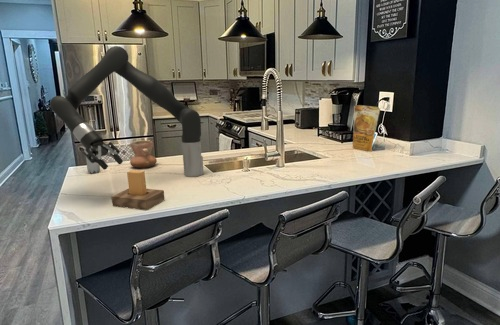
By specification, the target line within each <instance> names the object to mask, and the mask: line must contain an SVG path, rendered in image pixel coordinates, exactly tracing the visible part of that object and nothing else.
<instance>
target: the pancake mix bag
mask: <svg viewBox="0 0 500 325" xmlns="http://www.w3.org/2000/svg"><path fill="white" fill-rule="evenodd" d="M380 112H381V108H380V107H379V106H372V105H362V104H356V105H354V106H353V126H352V127H353V130H352V132H353V137H352V148H353V149H355V150H358V151H363V152H373V148H372V146H373V143H374V140H375V135H376V130H377V126H378V122H379V117H380V114H381V113H380Z"/></svg>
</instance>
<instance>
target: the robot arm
mask: <svg viewBox="0 0 500 325" xmlns="http://www.w3.org/2000/svg"><path fill="white" fill-rule="evenodd" d="M112 73H115V74H117V75H118V76H120V77H121V78H123V79H125V80H126V81H127V82H129V84H131V85H132V86H133V87H134V88H135V89H137V90H138V91H139V92H140V93H141V94H143V95H144V96H145V97H146V98H148V100H150V101H151V102H153V103H154V104H155V105H157V106H159V107H160V108H162V109H163V110H166V111H167V112H168V113H169V114H171V116H173V117H174V118H175V119H176V120H177V121H178V122H179V123H180V125H181V128H182V131H181V132H182V134H181V149H182V162H183V175H184V176H185V177H191V178H194V177H195V178H196V177H199V176H203V175H204V173H205V172H204V159H203V158H204V156H203V155H202V147H201V145H202V144H201V137H202V124H201V122H202V120H201V116H200V113H199V112H198V111H196V110H194V109H193V108H192V109H191V108H189V107H188V106H186V105H185V104H183V103H182V102H181V101H179V100H178V99H177V97H175V96H174V94H173V93H172V92H171V91H170V90H169V88H167V87H166V86H165V85H164V84H163V83H162V82H161V81H159V80H158V79H157V78H155V77H154V76H153V75H150V74H148V73H146V72H144V71H142V70H140V69H138V68H137V67H135V66H134V65H133V64H132V63H130V61H129V54H128V52H127V49H125V48H124V47H122V46H118V45H115V46H112V47H111V46H110V47H109V48H108V49H107V51H106V52H105V53H104V55H103V57H102V58H101V60H100V61H98V63H97V64H96V65H95V66H94V67H92V68H91V69H90V70H88V71H87V72H86V73H85V74H83V76H82V77H80V78H79V79H78V80H77V81H75V83H73V84H72V85H71V86H70V87H69V88H68V89H67V95H66V97H65V96H62V95H56V96H53V97H51V99H50V102H49V106H50V109H51V110H52V112H53V113H54V114H55V116H56V117H58V118H60V119H61V121H63V123H64V124H65V126H66V127H67V129H68V130H70V132H71V133H72V134H73V135H74V137H75V139H77V141H78V142H79V143H80V144H81V145H82V146H83V148H84V147H85V148H86V149H85V151H83V154H84V155H85V158H86V157H87V158H88V159H89V160H90V162H91V163H94V162H96V163H98V164H99V165H100V168H101V169H103V170H107V169H108V168H109V165H108V164H107V162H105V160H103V158H102V157H104V156H107V157H111V158H113V159H114V161H115V162H116V163H117V164H118V165H121V164H122V163H123V162H124V160H123V158H122V157H120V155H119V154H120V152H121V151H120V150H119V149H118V148H117V146H116V145H114V143H113V142H111V141H109V142H108V143H105V142H104V139H103V137H102V136H101V135H100V134H99V133H98V131H97V130H96V129H95V128H94V127H93V126H92V125H91V124H89V123H88V121H86V119H85V118H84V117H83V116H82V115H81V114H80V113H79V112H78V109H79V107H80V106H81V104H82V103H83V101H84V100H86V99H87V98H88V97H89V96H90V95H91V94H92V93H94V91H95V90H96V89H97V88H98V87H99V86H100V85H101V84H102V83H103V81H105V79H107V78H108V77H109V76H110V75H111V74H112ZM91 157H92V158H93V159H92V158H91Z"/></svg>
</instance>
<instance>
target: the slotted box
mask: <svg viewBox="0 0 500 325" xmlns="http://www.w3.org/2000/svg"><path fill="white" fill-rule="evenodd" d="M146 190H147V194H146V195H144V196H138V195H130V194H129V188H127V189H124V190H122V191H120V192H118V193H115V194H114V195H111V202H112V206H113V207H117V206H118V208H125V207H128V208H127V209H133V208H135V210H143V211H148V210H149V208H150V209H151V208H153V207H155V206H156V205H157V204H160V203H162V202H163V201H165V200H166V199H165V192H164V191H165V190H163V189H156V188H154V189H153V188H146ZM164 199H165V200H164ZM159 202H160V203H159ZM154 205H155V206H154Z"/></svg>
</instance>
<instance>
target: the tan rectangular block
mask: <svg viewBox="0 0 500 325" xmlns="http://www.w3.org/2000/svg"><path fill="white" fill-rule="evenodd" d="M126 173H127V174H126V175H127V182H128V183H127V185H128V189H129V194H130V195H138V196H144V195H146V194H147V190H146V189H147V182H146V173H145V170H136V169H135V170H134V169H133V170H132V169H131V170H129V171H127V172H126Z"/></svg>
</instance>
